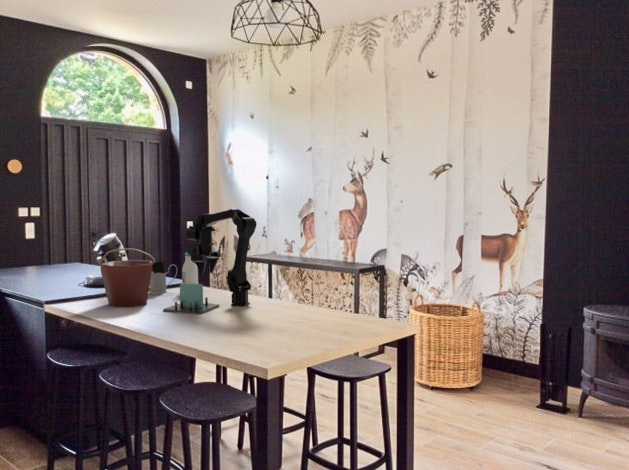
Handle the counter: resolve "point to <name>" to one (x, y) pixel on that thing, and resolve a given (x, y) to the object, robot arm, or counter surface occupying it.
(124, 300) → the bucket
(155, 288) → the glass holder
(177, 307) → the dish rack
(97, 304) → the counter surface
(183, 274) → the milk bottle
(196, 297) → the teal plate
